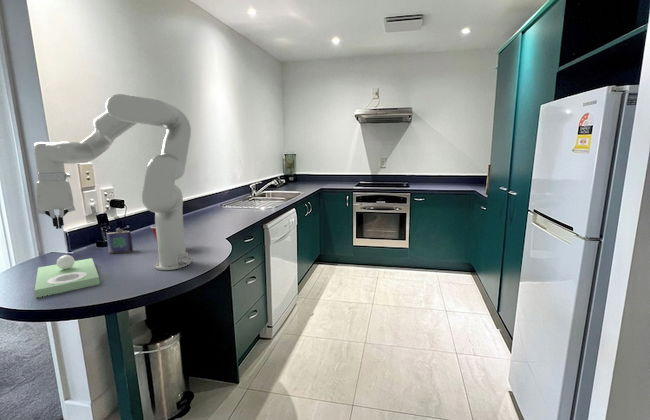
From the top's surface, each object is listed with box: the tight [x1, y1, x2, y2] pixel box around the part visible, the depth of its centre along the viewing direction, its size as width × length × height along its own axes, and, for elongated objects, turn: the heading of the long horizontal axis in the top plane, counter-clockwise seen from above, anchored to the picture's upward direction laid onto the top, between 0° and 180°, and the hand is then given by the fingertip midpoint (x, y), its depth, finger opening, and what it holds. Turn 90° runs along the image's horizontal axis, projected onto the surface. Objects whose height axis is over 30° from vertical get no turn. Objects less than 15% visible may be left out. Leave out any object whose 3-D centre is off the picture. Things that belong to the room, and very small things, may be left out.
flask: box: [105, 227, 134, 254], centre depth 143 cm, size 9×3×11 cm, turn 109°
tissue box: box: [34, 257, 101, 299], centre depth 112 cm, size 26×16×3 cm, turn 39°
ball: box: [56, 254, 76, 269], centre depth 115 cm, size 5×5×5 cm
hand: (58, 227), depth 119 cm, fingers closed
